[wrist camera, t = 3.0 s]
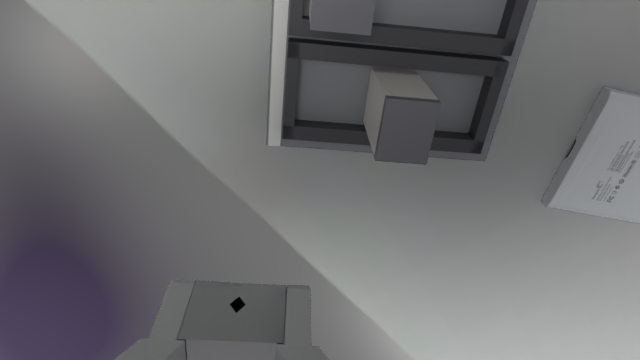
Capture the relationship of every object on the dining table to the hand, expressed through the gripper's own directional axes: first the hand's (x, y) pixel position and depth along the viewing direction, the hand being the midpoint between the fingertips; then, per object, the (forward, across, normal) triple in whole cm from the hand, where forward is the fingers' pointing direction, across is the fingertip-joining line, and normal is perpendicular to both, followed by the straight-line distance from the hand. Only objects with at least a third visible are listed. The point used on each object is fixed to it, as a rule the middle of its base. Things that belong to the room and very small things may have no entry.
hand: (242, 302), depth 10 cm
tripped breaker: (+15, -6, 0) cm, 17 cm away
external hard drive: (+18, -25, +4) cm, 31 cm away
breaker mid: (+15, -2, -6) cm, 16 cm away
